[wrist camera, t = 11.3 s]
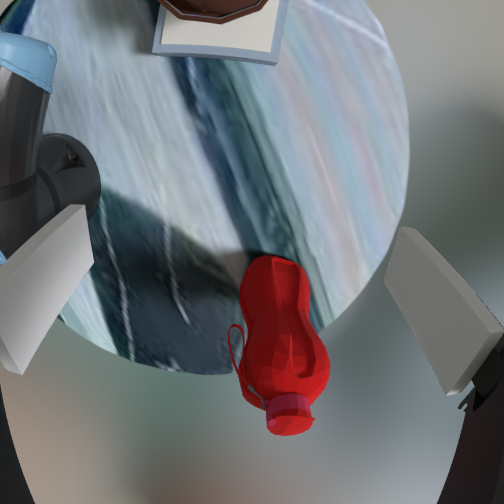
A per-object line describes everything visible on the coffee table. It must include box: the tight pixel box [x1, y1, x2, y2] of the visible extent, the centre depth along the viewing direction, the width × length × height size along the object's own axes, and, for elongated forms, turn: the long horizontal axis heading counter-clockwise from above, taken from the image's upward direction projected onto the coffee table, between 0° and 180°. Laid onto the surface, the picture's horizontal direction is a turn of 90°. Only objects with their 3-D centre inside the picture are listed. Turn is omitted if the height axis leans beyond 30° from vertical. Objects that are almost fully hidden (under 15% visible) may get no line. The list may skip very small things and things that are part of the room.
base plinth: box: [152, 0, 288, 66], centre depth 26 cm, size 14×14×4 cm
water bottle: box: [228, 255, 330, 436], centre depth 36 cm, size 9×11×25 cm
